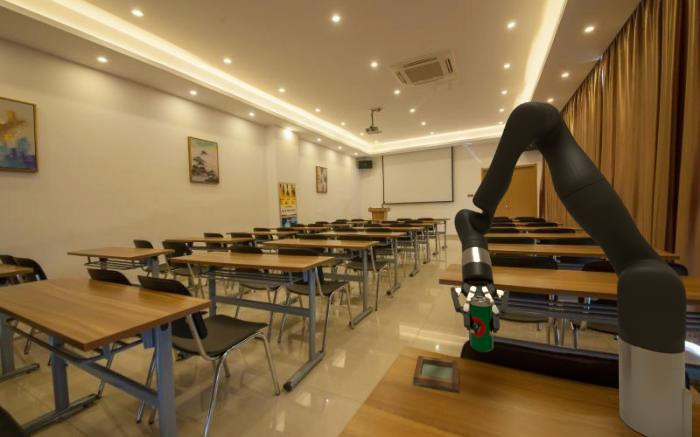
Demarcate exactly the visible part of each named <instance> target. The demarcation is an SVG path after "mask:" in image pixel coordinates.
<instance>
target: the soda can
mask: <svg viewBox="0 0 700 437" xmlns="http://www.w3.org/2000/svg"><path fill="white" fill-rule="evenodd" d="M469 314H470V330H469V341H470V342H469V343H470V344H469V345H470V347H471V348H472V349H474V350H475V351H476V352H479V353H489V352H491V351H492V350H493V349H494V333H493V312H492V303H491V302H490V299H489V298H487V297H482V296H474V297H471V300H470V302H469Z"/></svg>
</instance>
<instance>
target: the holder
mask: <svg viewBox="0 0 700 437" xmlns="http://www.w3.org/2000/svg"><path fill="white" fill-rule="evenodd" d="M416 360H417V361H416V364H415V369H414V374H413V386H416V387H422V388H426V389H427V388H428V389H435V390H441V391H446V392H451V393H452V392H453V393H458V394H459V393H460V390H459V389H460V385H459V361H458V360H456V359H447V358H439V357H432V356H423V355H417V359H416Z"/></svg>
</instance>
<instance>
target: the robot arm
mask: <svg viewBox="0 0 700 437" xmlns="http://www.w3.org/2000/svg"><path fill="white" fill-rule="evenodd" d="M503 127H504V128H503V130H502V134H501V136H500V140H499V142H498V145H497V147H496V149H495V152H494V154H493V158H492V160H491V162H490V165H489V167H488V169H487V171H486V173H485V176H484V177H483V179H482V180H481V182H480V184H479V185H478V187H477V190H476V192H475V193H474V195H473V197H472V204H473V205H474V207H476V208H478V209H479V210H481V212H479V211H475V210H472V209H469V208H463V209H459V211H457V213H456V214H455V217H454V219H453V220H454V222H453V224H454V228H455V231H456V234H457V236H458V238H459V241H460V243H461V266H460V267H461V280H462V282H461V283H462V285H461V286H460V287H457V288H456V287H454V286H452V287H450V296H451V299H452V303H453V307H454V310H455V312H456V313H459V314H462V316H463V327H464V329H465V328H466V330H467V331H470V314H469V302H470V300H471V297H474V296H482V297H487V298H489V299H490V302H491V303H492V312H493V334H497V333H498V332H499V331H500V327H501V325H500V324H501V322H500V317H505V316H506V315H507V311H508V303H509V296H510V291H509V290H508V289H504V290H501V289H497V287H496V286H495V282H494V274H493V267H492V265H493V264H492V259H491V257H490V256H491V255H490V252H489V251H490V250H489V242H488V239H487V237H486V235H487V234H488V233H490V231H491V228H492V227H493V221H494V217H495V215H496V211H497V209H498V206H499V205H500V203H501V202H502V200H503V198H504V197H505V196H506V194H507V192H508V191H509V188H510V186H511V184H512V179H513V175H514V171H515V168H516V166H517V163H518V162H519V160H520V159H521V158H520V157H521V156H522V154H523V153H524V152H525V150H526V149H527V148H528V146H530V145H531V144H532V145H533V146H534V147H535V148H536V149H537V151H538V152H539V153H540V155H541V156H542V157H543V158H544V160H545V162H546V164H547V166H548V169H549V173H550V177H551V182H552V186H553V189H554V192H555V193H556V196H557V197H558V199H559V201H560V202H561V204H562V205H563V207H564V209H565V210H566V211H567V212H568V214H569V216H571V218H572V219H573V221H574V222H576V224H578V226H579V227H580V228H581V229H582V230H583V231H584V232H585V234H587V235H588V236H589V237H590V238H591V239H592V240H593V241H594V242H595V243H596V244H597V245H598V246H599V247H600V249H601V250H602V251H603V254H604V255H605V256H606V258H607V259H608V261H609V263H610V265H611V267H612V268H613V270H614V272H615V274H616V277H617V278H618V279H617V283H616V309H617V311H616V313H617V314H616V315H617V320H616V322H617V328H618V391H619V392H618V393H619V404H618V408H619V410H618V411H619V412H618V413H619V418H620V420H621V421H622V422H623V423H624V424H626V426H628V427H629V428H631V429H632V430H633V431H635V432H636V433H639V434H641V435H643V436H645V437H693V429H692V428H693V426H692V424H693V407H692V406H693V396H692V395H693V394H692V393H693V392H692V391H690V389H688V388H687V387H686V339H687V302H688V301H687V289H686V286H685V284H684V281H683V280H682V278H681V276H680V274H678V272H677V271H676V270H675V269H674V268H672V266H670V265H669V264H668V263H667V261H666V260H665V259H664V258H663V257H661V255H660V254H659V253H658V252H657V250H655V248H654V247H652V245H651V244H650V243H649V242H648V240H647V239H646V238H645V237H644V235H643V234H642V233H641V232H640V230H639V228H638V226H637V224H636V222H635V221H634V219H633V217H632V215H631V213H630V212H629V209H628V208H627V206H626V205H625V203H624V201H623V200H622V199H621V197H620V195H619V194H618V192H617V190H615V189H614V186H612V184H611V183H610V182H609V180H608V179H607V177H606V176H605V175H604V174H603V173H602V172H601V170H600V169H599V168H598V166H597V165H596V164H595V163H594V162H593V160H592V159H591V158H590V157H589V155H588V154H587V153H586V152H585V150H584V149H582V147H581V146H580V145H579V143H578V142H577V141H576V138H574V135H573V134H572V132H571V130H570V129H569V127H568V125H567V123H566V121H565V120H564V118H563V115H562V114H561V113H560V111H559V109H557V107H556V106H554V105H553V104H551V103H548V102H540V101H525V102H523V103H520V104H519V105H517V106H516V107H515V108H514V109H513V110H512V111H511V112H510V114H509V115H508V118H507V120H506V122H505V125H504V126H503ZM461 294H462V295H463V296H464V297H465V300H466V301H465V303H464V305H461V303H460V299H459V297H461V296H460V295H461ZM496 296H498V300H500V301H501V304H500V308H498V307H497V306H496V302H495V301H494V298H495V297H496Z"/></svg>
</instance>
